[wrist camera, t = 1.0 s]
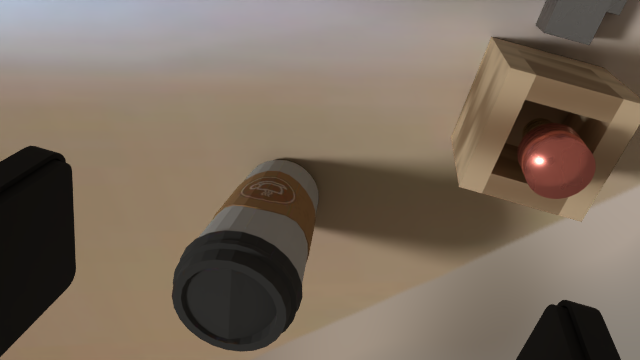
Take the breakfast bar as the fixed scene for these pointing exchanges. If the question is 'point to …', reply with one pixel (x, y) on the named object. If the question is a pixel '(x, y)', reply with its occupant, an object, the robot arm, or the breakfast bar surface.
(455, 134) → the small open wooden box
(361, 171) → the breakfast bar surface
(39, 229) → the robot arm
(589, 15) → the guide rail
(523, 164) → the button
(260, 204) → the coffee cup
